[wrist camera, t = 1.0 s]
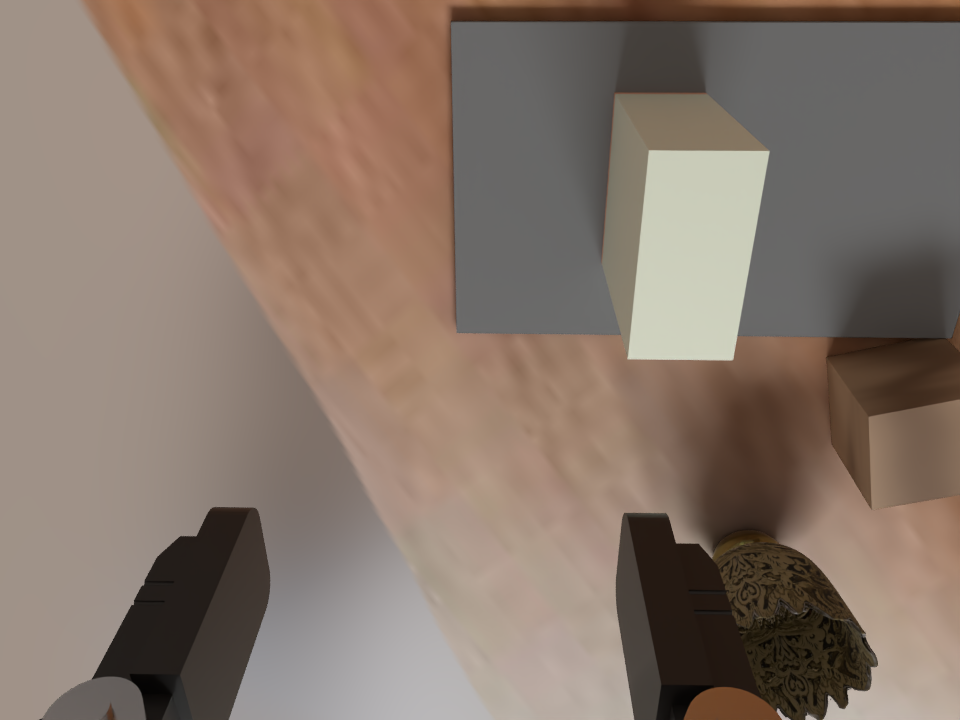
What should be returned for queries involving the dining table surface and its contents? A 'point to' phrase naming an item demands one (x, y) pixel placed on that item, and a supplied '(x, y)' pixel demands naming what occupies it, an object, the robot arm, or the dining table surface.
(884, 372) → the walnut cube
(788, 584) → the filigree lamp shade
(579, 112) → the mat
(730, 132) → the cream block
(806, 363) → the dining table surface
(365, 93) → the dining table surface
